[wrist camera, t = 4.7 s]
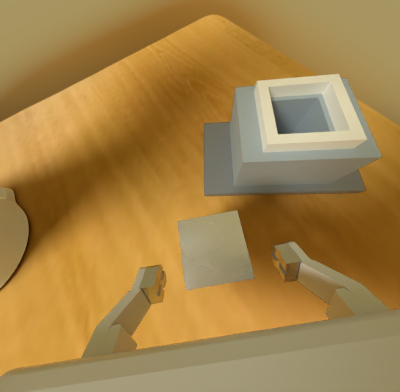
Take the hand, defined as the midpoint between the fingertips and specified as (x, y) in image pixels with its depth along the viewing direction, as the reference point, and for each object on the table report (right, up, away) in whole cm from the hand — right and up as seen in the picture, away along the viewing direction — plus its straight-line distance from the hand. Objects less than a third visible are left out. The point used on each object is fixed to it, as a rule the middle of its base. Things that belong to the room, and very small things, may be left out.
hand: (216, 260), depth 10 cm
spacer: (+9, +13, +4) cm, 16 cm away
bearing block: (+9, +11, +11) cm, 18 cm away
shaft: (0, -1, +8) cm, 8 cm away
